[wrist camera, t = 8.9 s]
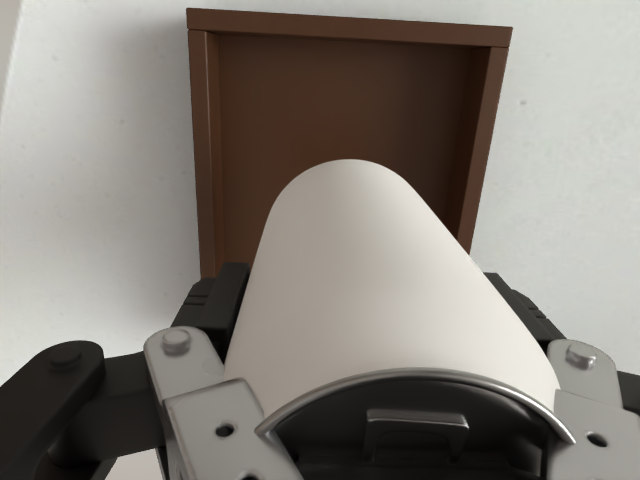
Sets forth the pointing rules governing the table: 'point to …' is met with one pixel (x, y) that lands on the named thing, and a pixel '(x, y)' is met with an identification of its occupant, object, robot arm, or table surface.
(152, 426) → the robot arm
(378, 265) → the can
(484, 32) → the tray
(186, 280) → the table surface
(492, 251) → the table surface
